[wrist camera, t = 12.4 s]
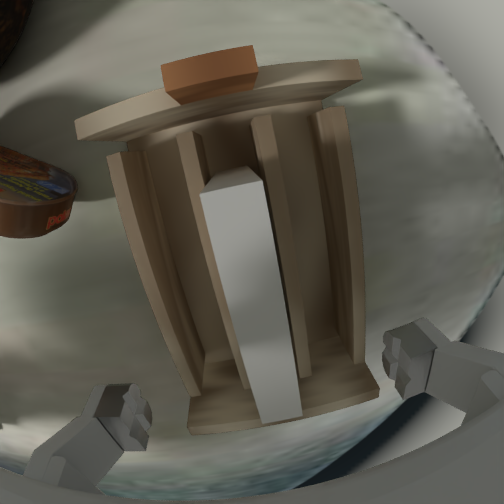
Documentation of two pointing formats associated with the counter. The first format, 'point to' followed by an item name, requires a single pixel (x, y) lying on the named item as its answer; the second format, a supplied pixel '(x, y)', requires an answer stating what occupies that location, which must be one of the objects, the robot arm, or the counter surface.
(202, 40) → the counter surface
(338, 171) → the rack
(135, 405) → the robot arm
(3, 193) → the tin
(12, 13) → the glass bottle
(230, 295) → the panel
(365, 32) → the counter surface
